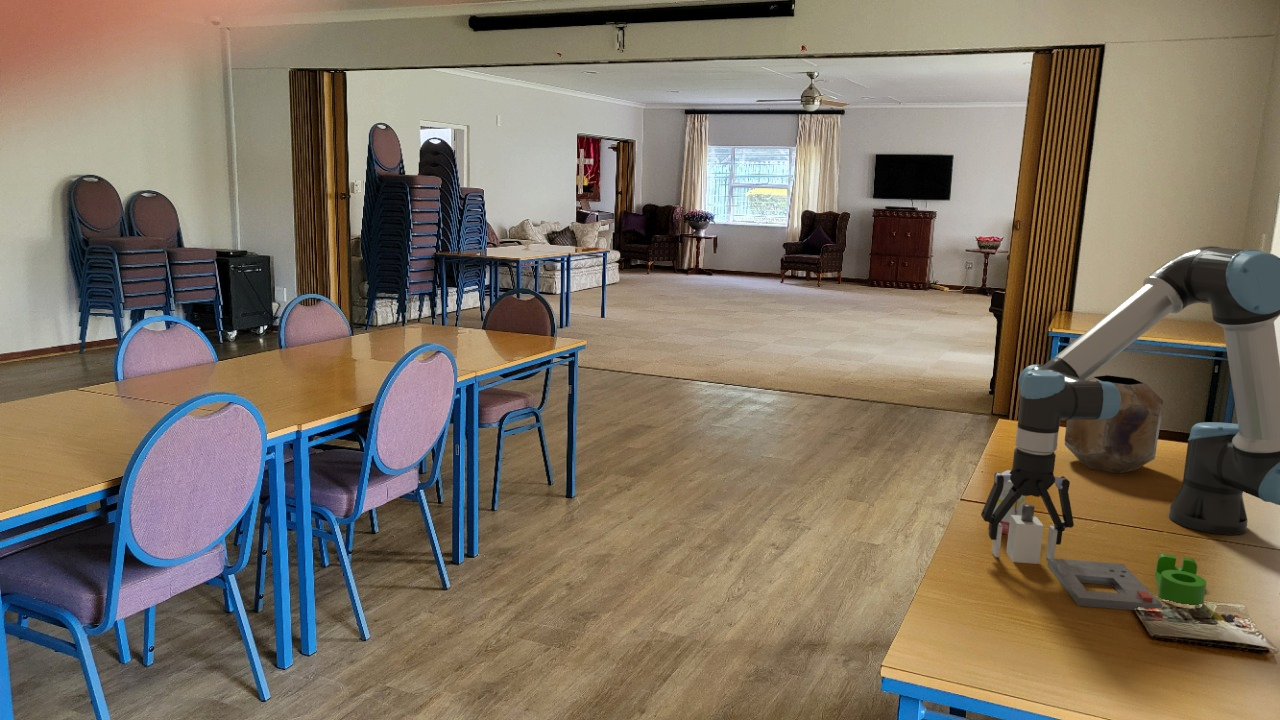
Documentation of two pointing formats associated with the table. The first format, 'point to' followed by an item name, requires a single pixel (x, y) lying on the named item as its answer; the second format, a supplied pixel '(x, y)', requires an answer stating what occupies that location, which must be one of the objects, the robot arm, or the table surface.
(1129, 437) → the planter
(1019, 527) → the plug
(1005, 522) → the ink box
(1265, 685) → the table surface
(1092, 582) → the socket plate
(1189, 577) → the green ring bracket
